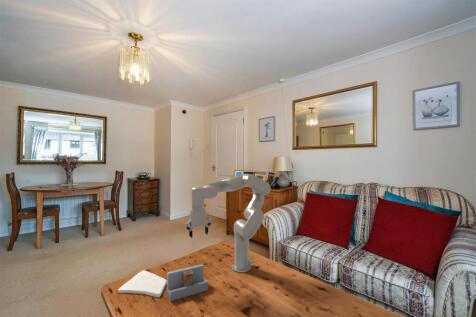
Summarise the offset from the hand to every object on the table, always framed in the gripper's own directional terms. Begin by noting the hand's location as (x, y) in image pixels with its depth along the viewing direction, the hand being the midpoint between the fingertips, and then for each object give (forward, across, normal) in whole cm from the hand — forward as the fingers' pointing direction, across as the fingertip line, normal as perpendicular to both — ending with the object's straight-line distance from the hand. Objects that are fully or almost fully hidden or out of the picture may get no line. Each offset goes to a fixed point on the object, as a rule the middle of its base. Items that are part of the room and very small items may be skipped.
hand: (198, 235), depth 127 cm
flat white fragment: (+25, +28, -7) cm, 38 cm away
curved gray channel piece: (+25, +10, +9) cm, 29 cm away
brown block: (+23, +10, +10) cm, 27 cm away
